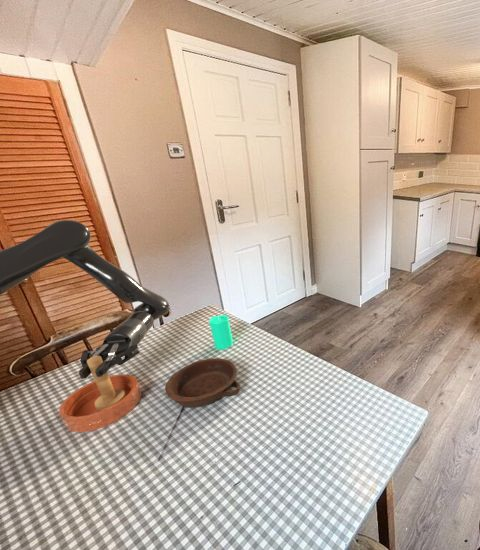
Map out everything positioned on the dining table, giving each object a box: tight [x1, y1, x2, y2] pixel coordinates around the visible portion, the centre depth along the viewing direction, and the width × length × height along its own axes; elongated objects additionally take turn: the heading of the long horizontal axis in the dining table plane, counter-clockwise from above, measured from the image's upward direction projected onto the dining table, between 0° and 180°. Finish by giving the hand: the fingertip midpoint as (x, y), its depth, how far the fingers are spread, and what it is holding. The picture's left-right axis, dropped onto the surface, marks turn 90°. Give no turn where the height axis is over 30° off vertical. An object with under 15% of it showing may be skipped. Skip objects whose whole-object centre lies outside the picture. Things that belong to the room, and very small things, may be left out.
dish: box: [164, 357, 241, 409], centre depth 86 cm, size 18×22×5 cm
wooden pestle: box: [87, 356, 126, 412], centre depth 79 cm, size 6×6×14 cm
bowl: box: [58, 373, 143, 433], centre depth 80 cm, size 16×16×5 cm
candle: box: [208, 314, 234, 350], centre depth 105 cm, size 6×6×12 cm
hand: (90, 374), depth 74 cm, fingers closed on wooden pestle, 3 cm apart
